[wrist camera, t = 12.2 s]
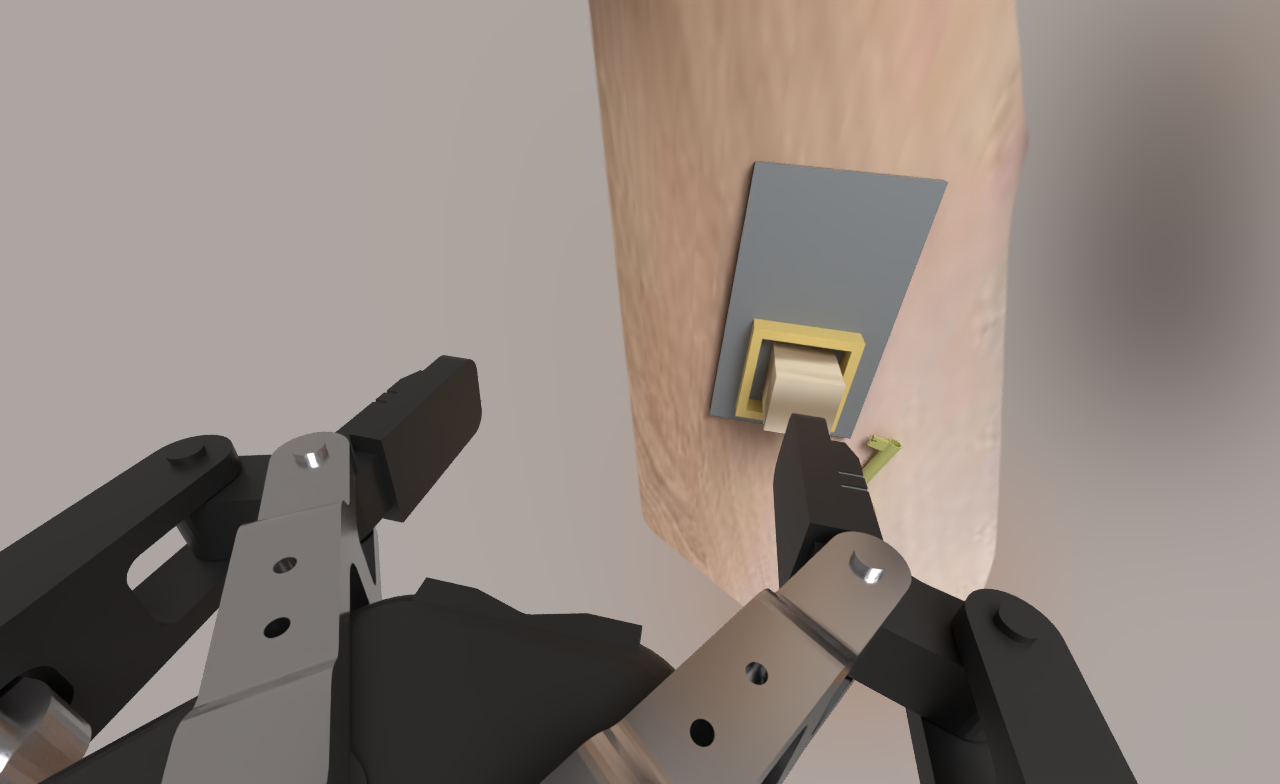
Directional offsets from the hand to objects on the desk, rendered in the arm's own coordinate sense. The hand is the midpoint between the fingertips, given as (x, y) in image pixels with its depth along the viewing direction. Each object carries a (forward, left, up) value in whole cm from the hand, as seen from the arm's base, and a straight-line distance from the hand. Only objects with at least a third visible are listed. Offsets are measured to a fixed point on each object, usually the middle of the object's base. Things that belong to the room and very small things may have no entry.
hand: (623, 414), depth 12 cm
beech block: (+13, +10, -29) cm, 33 cm away
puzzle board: (+8, +9, -30) cm, 33 cm away
